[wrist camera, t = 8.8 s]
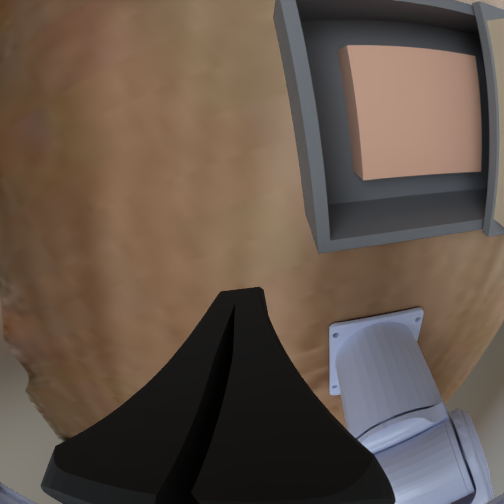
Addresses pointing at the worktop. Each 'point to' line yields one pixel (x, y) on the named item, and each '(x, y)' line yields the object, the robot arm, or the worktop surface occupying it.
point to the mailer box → (386, 117)
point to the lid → (493, 111)
